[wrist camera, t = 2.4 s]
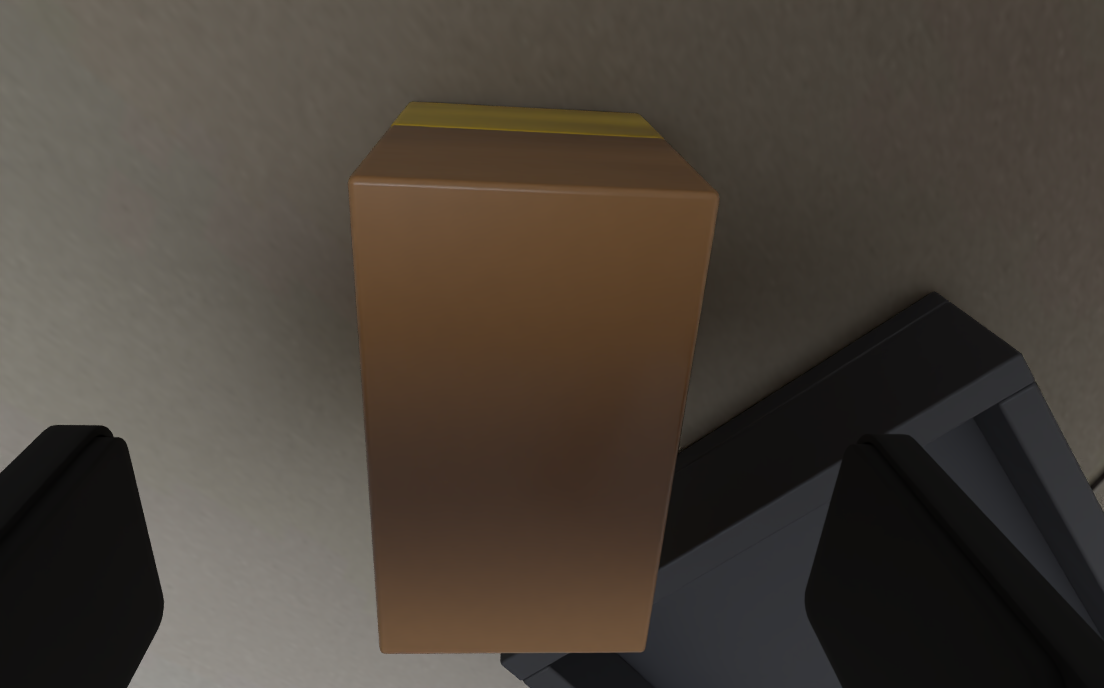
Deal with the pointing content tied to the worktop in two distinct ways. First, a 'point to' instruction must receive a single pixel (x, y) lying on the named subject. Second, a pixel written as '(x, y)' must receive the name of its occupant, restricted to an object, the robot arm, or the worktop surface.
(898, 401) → the tray
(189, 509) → the worktop surface
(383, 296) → the scrub brush
